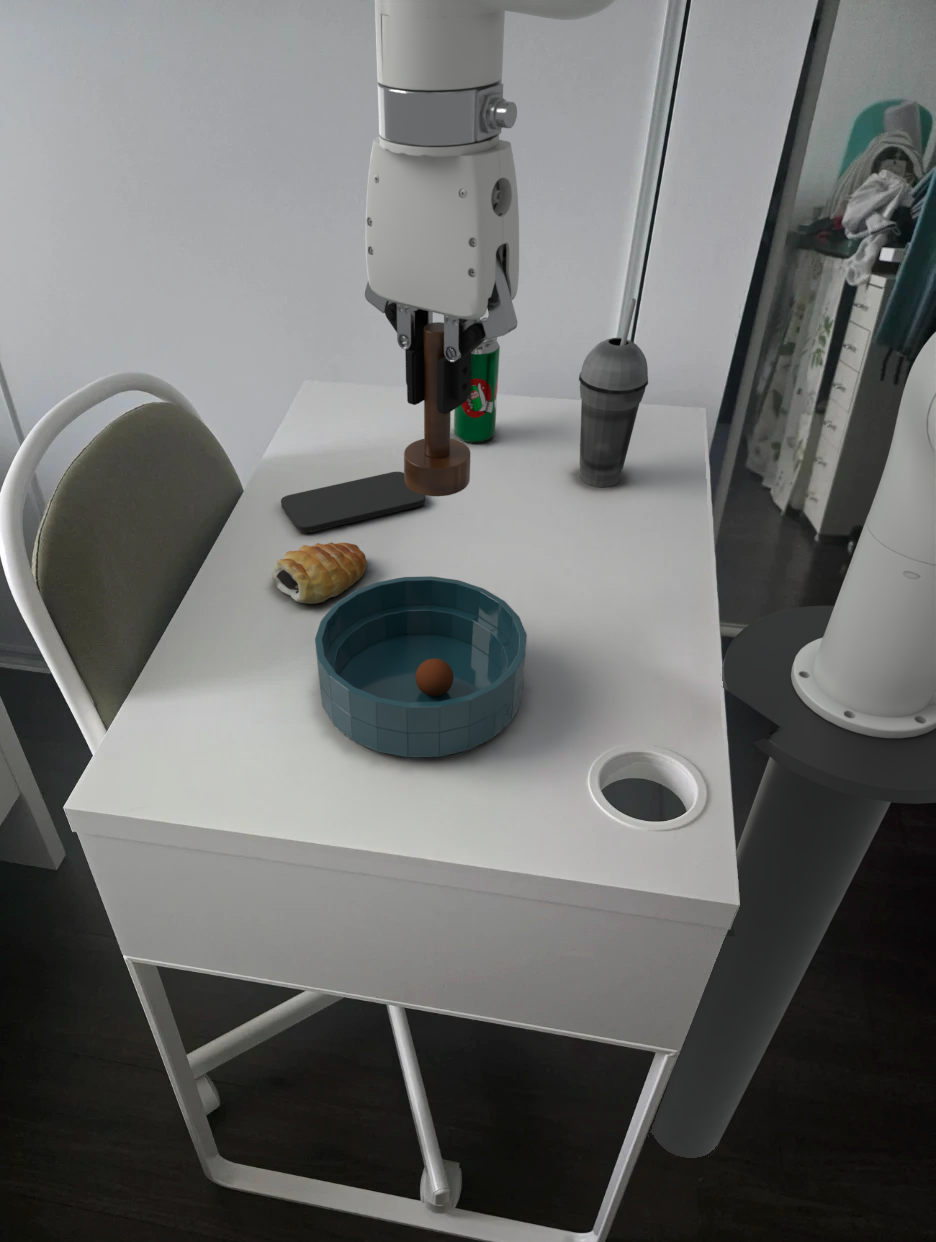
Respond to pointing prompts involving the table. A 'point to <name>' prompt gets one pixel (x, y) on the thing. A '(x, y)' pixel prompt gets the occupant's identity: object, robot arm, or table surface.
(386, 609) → the bowl
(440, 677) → the meatball
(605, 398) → the beverage cup
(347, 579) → the pastry
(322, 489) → the phone
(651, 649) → the table surface
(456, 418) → the soda can
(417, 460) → the wooden knob stand
